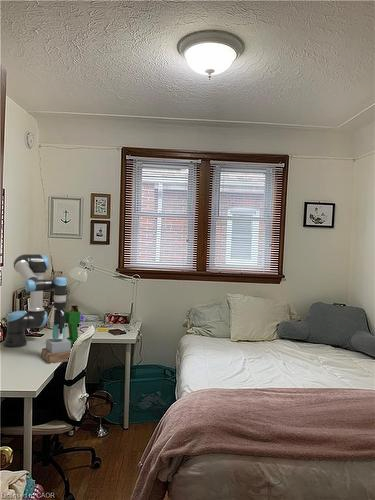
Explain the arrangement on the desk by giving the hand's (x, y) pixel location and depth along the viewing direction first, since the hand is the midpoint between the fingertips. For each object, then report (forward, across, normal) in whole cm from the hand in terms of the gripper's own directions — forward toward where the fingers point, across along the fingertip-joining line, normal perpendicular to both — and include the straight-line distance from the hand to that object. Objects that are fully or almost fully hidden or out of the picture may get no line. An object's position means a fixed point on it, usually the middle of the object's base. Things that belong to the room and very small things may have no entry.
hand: (58, 337), depth 249 cm
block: (0, 0, 0) cm, 0 cm away
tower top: (+8, -1, 0) cm, 8 cm away
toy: (+14, -19, +18) cm, 30 cm away
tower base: (+14, 0, 0) cm, 14 cm away
